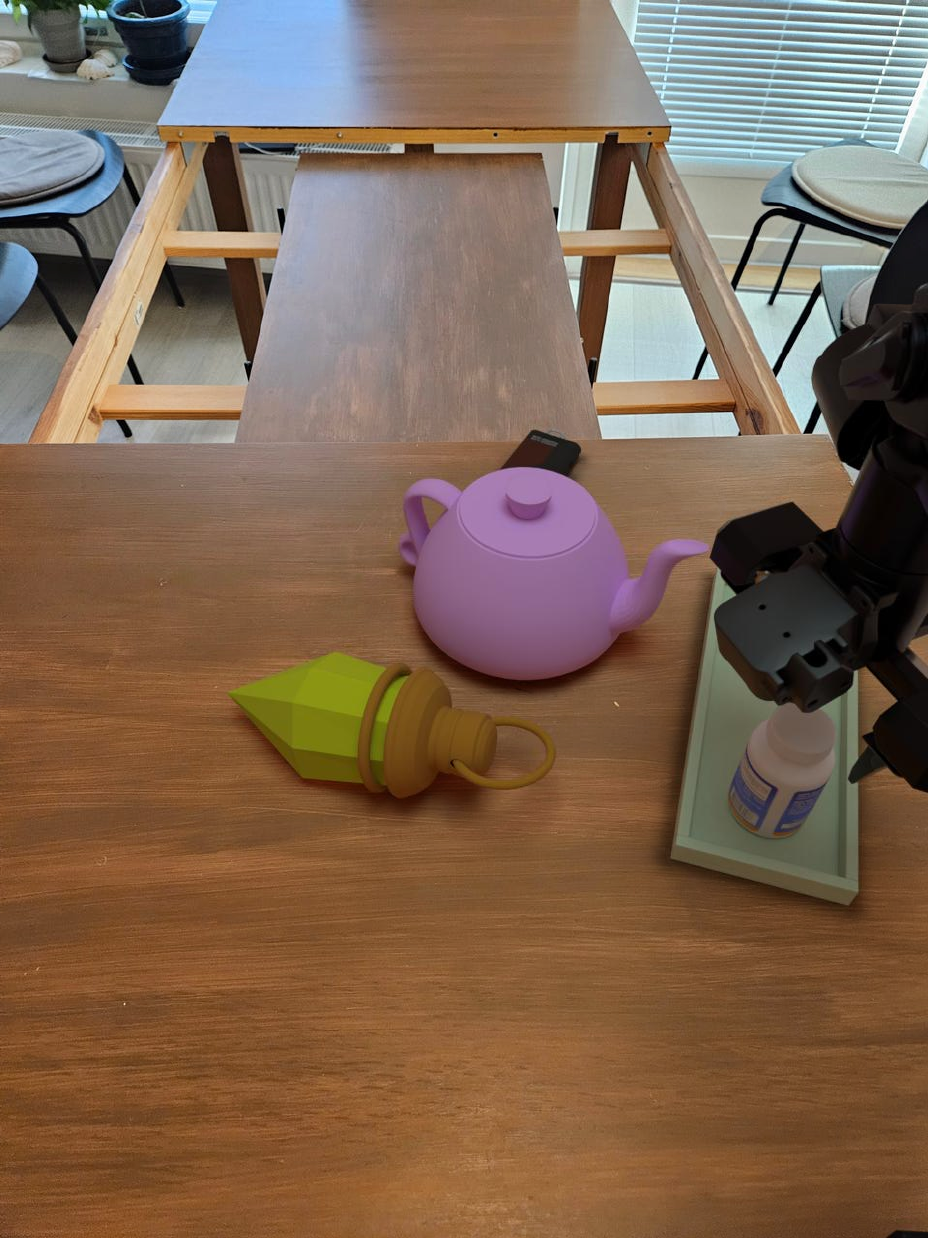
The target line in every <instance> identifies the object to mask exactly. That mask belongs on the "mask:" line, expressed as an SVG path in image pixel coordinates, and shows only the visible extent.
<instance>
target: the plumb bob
mask: <svg viewBox="0 0 928 1238" xmlns="http://www.w3.org/2000/svg"><path fill="white" fill-rule="evenodd" d="M226 694H227V695H228V696H229V698H231V699H232V701H233V702H235V703H236V705H237V707H239V708H240V709H241V711H242V712H243V713H244V714H245V715H246V716H247V717H248V719H249V720H250V721H251V722H252V723H253V724H254V726H256V727H257V729H258V730H259V731H260V732H261V733H262V734H263V735H264V737H265V738H266V739H267V740H268V741H269V742H270V743H271V745H273V747H274V748H275V749H276V750H277V752H278V753H280V755H281V756H282V757H283V758H284V759H285V760H286V761H287V762H288V763H289V765H290V766H291V767H292V769H294V770H295V772H296V773H297V774H298V775H299V776H300V777H301V779H311V780H319V781H320V780H322V781H334V782H342V783H343V782H344V783H355V784H363V785H364V787H365V788H366V789H367V790H368V791H370V792H372V793H382V792H384V791H386V790H387V789H388V791H389V793H390V794H391V795H392V796H394V797H395V798H398V799H405V798H408V797H409V796H414V795H417V794H419V793H420V792H422V791H424V790H425V789H426V788H428V787H429V786H430V785H431V784H433V782H434V781H435V779H436V777H437V776H438V773H440V772H441V773H443V774H448V775H449V774H452V775H454V776H457V777H462V778H463V779H465V780H467V781H468V782H470V783H471V784H473V785H476V786H479V787H481V788H484V789H490V790H495V791H496V790H498V791H508V790H517V789H522V788H525V787H528V786H530V785H534V784H535V783H537V782H538V781H540V780H542V779H543V778H544V777H545V776H546V775H547V774H548V773H549V772H550V771H551V770H552V768H553V766H554V763H555V761H556V758H557V757H556V756H557V750H556V746H555V743H554V740H553V739H552V737H551V736H550V734H549V733H548V732H547V731H546V730H545V729H544V728H542V727H541V726H539V725H537V724H536V723H534V722H532V721H530V720H526V719H524V718H520V717H514V716H493V717H492V716H491V715H490V714H488V713H484V712H479V711H473V710H468V709H467V710H464V709H462V708H457V707H453V701H452V700H453V699H452V695H451V692H450V690H449V688H448V687H447V685H446V684H445V682H444V681H443V679H442V678H441V677H440V676H439V675H437V674H436V673H435V672H434V670H432V669H431V668H428V667H419V668H416V669H415V670H414V671H413V670H412V669H411V667H410V666H408V665H407V664H405V663H403V662H396V663H392V664H391V665H390V666H388V667H383V666H381V665H378V664H374V663H372V662H370V661H369V662H368V661H366V660H363V659H359V658H356V657H353V656H351V655H347V654H344V653H342V652H338V651H334V652H330V653H328V654H325V655H322V656H320V657H318V658H315V659H312V660H309V661H307V662H304V663H301V664H299V665H296V666H294V667H290V668H288V669H285V670H282V671H280V672H277V673H275V674H272V675H269V676H266V677H264V678H260V679H257V680H256V681H253V682H251V683H247V684H244V685H242V686H240V687H237V688H234V689H232V690H229V691H226ZM503 726H504V727H514V728H518V729H519V728H520V729H523V730H525V731H528V732H530V733H532V734H533V735H535V736H536V737H537V738H539V740H540V741H541V742H542V743H543V745H544V748H545V752H546V753H545V758H544V761H543V763H542V764H541V765H540V766H539V767H538V768H537V769H536V770H534V771H533V772H532V773H529V774H527V775H524V776H521V777H518V778H512V779H493V778H488V777H484V776H483V775H484V774H485V773H486V772H488V771H489V769H490V768H491V766H492V765H493V761H494V759H495V755H496V750H497V746H498V728H497V727H503Z"/></svg>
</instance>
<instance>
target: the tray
mask: <svg viewBox="0 0 928 1238" xmlns="http://www.w3.org/2000/svg"><path fill="white" fill-rule="evenodd" d="M720 572H721V570H720V569H719V568H718V567H717V566H716V570H715V572H714V576H713V580H712V585H711V592H710V597H709V603H708V611H707V616H706V622H705V623H706V624H705V631H704V636H703V643H702V648H701V649H702V650H701V655H700V662H699V667H698V668H699V669H698V676H697V683H696V689H695V696H694V700H693V701H694V702H693V707H692V714H691V721H690V728H689V734H688V741H687V747H686V754H685V759H684V767H683V773H682V780H681V784H680V785H681V786H680V792H679V799H678V805H677V806H678V807H677V813H676V817H675V825H674V832H673V838H672V845H671V852H670V856H669V857H670V860H675V861H678V862H682V863H686V864H689V865H693V866H697V867H701V868H703V869H708V870H711V871H716V872H719V873H724V874H727V875H731V876H734V877H738V878H742V879H745V880H748V881H749V880H750V881H753V882H757V883H761V884H765V885H768V886H772V887H776V888H780V889H784V890H786V891H791V892H795V893H799V894H803V895H806V896H810V897H814V898H817V899H821V900H826V901H828V902H833V903H837V904H839V905H844V906H850V904H851V903H852V902H853V900H854V899H855V898H856V896H857V895H858V894H859V782H857V783H854V784H851V783H850V782H849V780H848V776H849V774H850V771H851V769H852V767H853V765H854V764H855V763H856V761H857V760H858V758H859V670H856V671H854V680H853V685H852V687H851V688H850V689H849V690H848V691H847V692H846V693H845V694H843V695H841V696H840V697H838V698H836V699H834V700H833V701H831V702H829V703H828V704H826V705H824V706H822V707H821V708H820V709H822V710H823V711H824V712H825V713H827V714H828V716H829V717H830V718H831V719H832V721H833V722H834V725H835V727H836V732H837V737H836V741H835V743H834V746H833V749H834V752H835V766H834V770H833V772H832V774H831V776H830V778H829V780H828V782H827V784H826V785H825V787H824V789H823V791H822V792H821V794H820V796H819V798H818V800H817V801H816V803H815V805H814V807H813V809H812V810H811V812H810V814H809V816H808V817H807V819H806V821H805V823H804V824H803V825H802V827H801V828H800V829H799V830H798V831H797V832H795V833H794V834H792V835H790V836H787V837H784V838H777V839H774V838H766V837H762V836H759V835H757V834H754V833H752V832H751V831H749V830H747V829H746V828H745V827H743V826H742V825H741V824H740V823H739V822H738V821H737V820H736V819H735V817H734V816H733V814H732V812H731V810H730V807H729V803H728V792H729V788H730V785H731V782H732V780H733V777H734V775H735V773H736V770H737V768H738V765H739V763H740V760H741V758H742V755H743V753H744V751H745V748H746V746H747V743H748V741H749V739H750V736H751V734H752V733H753V731H754V730H755V728H756V727H757V726H758V725H759V724H760V723H762V722H763V721H765V720H767V719H770V718H771V716H772V714H773V712H774V711H775V710H776V708H778V707H779V706H778V705H777V704H776V703H775V702H774V701H764V700H761V699H759V698H757V697H756V696H755V695H754V694H753V693H752V692H751V691H750V690H749V688H748V687H747V685H746V683H745V682H744V681H743V680H742V678H741V677H740V676H739V675H738V673H737V672H736V671H735V670H734V668H733V667H732V666H731V665H730V664H729V662H728V661H726V660H725V659H724V658H723V656H722V655H721V654H720V652H719V647H718V641H717V635H716V629H715V623H714V613H715V610H716V609H717V607H718V606H720V605H721V604H722V603H724V602H725V601H727V600H729V599H731V598H732V597H734V596H736V594H735V593H734V592H733V591H732V589H731V588H730V587H729V586H728V585H727V584H726V583H725V581H724V580H723V579H722V577H721V574H720Z"/></svg>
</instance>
